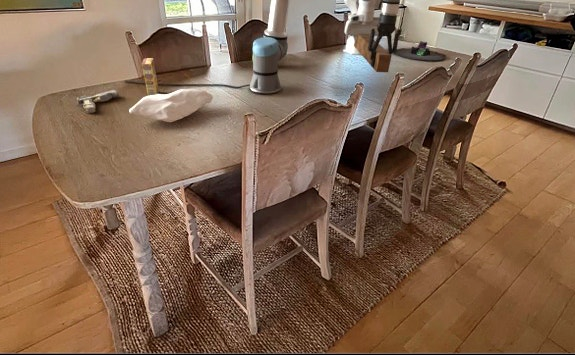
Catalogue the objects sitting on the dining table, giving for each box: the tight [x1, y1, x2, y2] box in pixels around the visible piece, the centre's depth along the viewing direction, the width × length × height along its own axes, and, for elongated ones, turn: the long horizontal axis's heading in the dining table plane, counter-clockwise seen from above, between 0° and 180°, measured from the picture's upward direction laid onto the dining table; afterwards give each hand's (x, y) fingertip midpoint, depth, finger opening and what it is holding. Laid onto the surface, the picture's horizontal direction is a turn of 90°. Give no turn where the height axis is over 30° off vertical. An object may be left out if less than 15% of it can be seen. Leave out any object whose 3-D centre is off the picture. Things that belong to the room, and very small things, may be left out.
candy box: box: [141, 57, 160, 96], centre depth 163 cm, size 9×4×15 cm, turn 13°
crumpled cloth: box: [129, 88, 214, 123], centre depth 147 cm, size 24×35×9 cm
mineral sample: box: [393, 40, 447, 61], centre depth 247 cm, size 35×35×9 cm
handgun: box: [76, 89, 120, 114], centre depth 155 cm, size 3×18×15 cm
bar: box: [354, 34, 393, 73], centre depth 186 cm, size 51×6×8 cm, turn 3°
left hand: (378, 66), depth 172 cm, fingers closed on bar, 6 cm apart
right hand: (361, 43), depth 203 cm, fingers closed on bar, 5 cm apart
